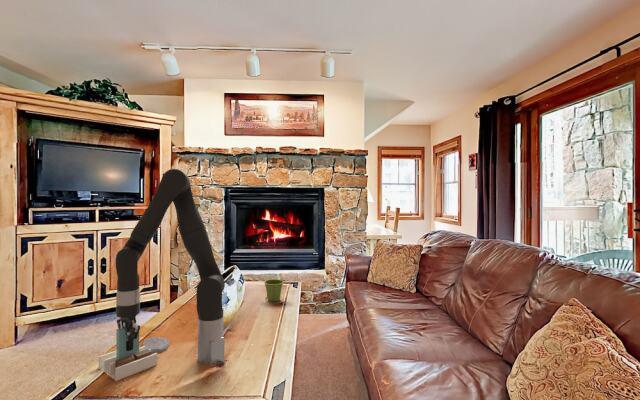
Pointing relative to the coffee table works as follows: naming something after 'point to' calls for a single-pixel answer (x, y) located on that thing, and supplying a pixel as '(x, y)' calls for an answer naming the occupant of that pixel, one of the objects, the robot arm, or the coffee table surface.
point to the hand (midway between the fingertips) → (128, 349)
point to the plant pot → (273, 289)
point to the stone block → (156, 344)
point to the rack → (128, 369)
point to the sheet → (121, 344)
